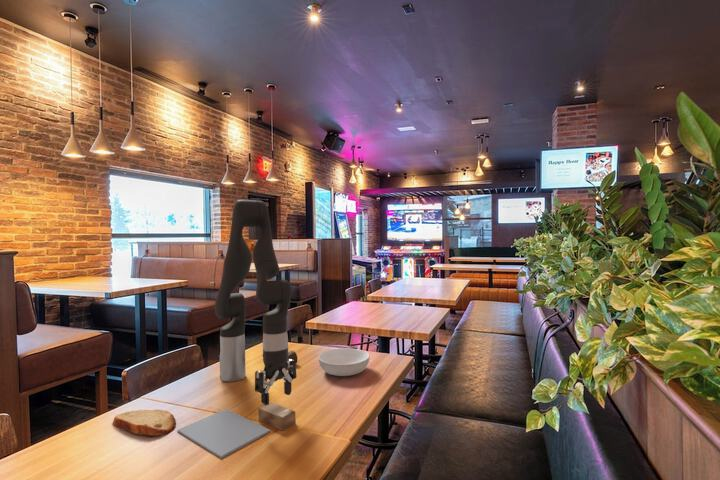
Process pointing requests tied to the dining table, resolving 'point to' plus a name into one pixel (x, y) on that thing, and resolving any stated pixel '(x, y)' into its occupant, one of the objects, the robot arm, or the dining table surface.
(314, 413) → the dining table surface
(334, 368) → the serving bowl
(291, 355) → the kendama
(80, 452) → the dining table surface
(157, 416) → the bread slice
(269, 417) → the brown rectangular block
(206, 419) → the slate mat
